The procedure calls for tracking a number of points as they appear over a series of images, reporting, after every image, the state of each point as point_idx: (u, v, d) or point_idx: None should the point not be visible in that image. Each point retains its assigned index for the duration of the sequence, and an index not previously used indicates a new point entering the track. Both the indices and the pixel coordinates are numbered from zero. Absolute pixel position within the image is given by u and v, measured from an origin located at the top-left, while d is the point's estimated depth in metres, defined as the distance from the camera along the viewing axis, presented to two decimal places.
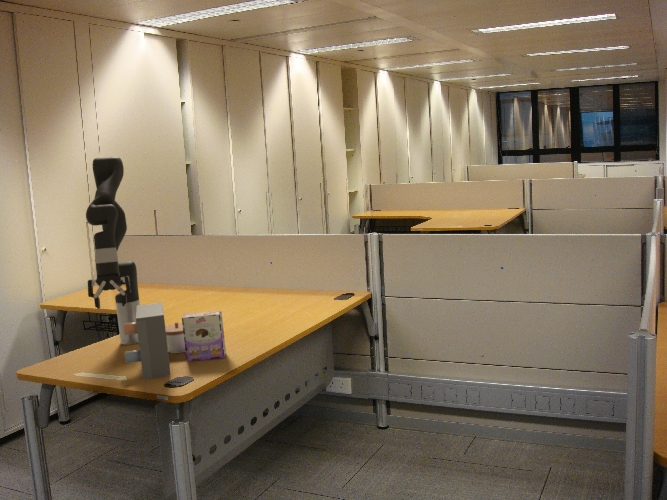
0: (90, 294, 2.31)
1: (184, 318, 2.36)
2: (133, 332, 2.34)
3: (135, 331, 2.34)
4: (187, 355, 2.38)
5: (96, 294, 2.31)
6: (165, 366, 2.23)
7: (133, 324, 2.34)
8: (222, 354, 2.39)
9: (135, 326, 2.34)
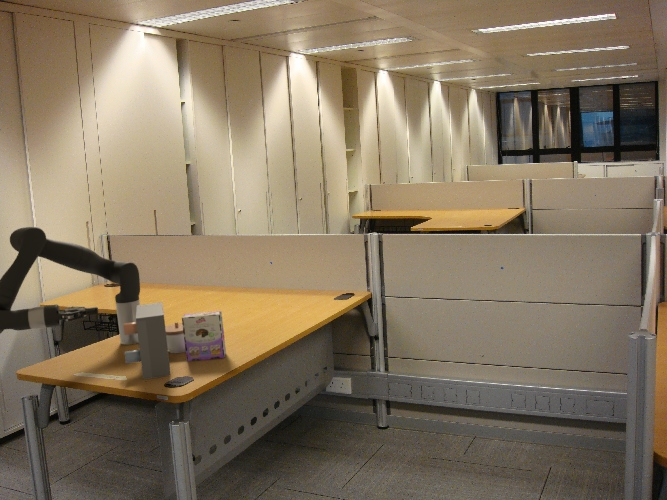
0: None
1: (184, 318, 2.36)
2: (133, 332, 2.34)
3: (135, 331, 2.34)
4: (187, 355, 2.38)
5: None
6: (165, 366, 2.23)
7: (133, 324, 2.34)
8: (222, 354, 2.39)
9: (135, 326, 2.34)
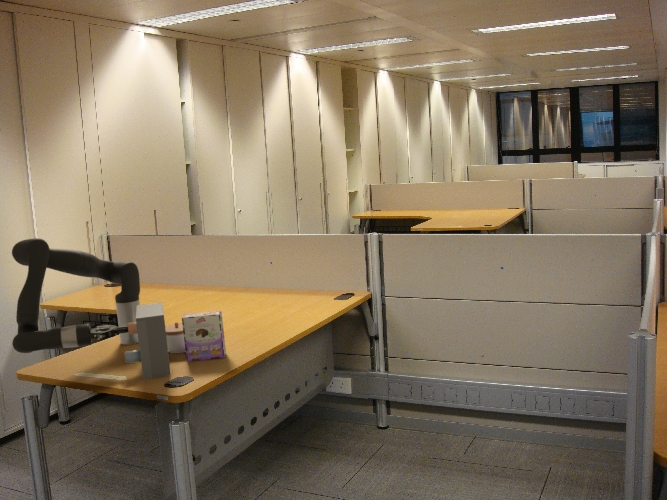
0: None
1: (184, 318, 2.36)
2: None
3: None
4: (187, 355, 2.38)
5: None
6: (165, 366, 2.23)
7: None
8: (222, 354, 2.39)
9: None
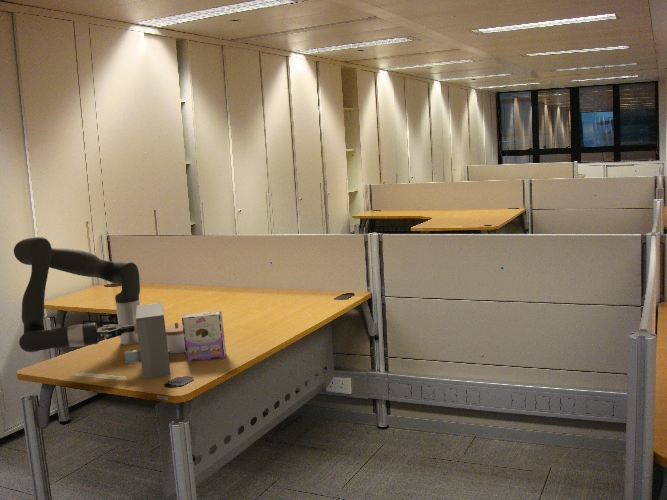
0: None
1: (184, 318, 2.36)
2: None
3: None
4: (187, 355, 2.38)
5: None
6: (165, 366, 2.23)
7: None
8: (222, 354, 2.39)
9: None
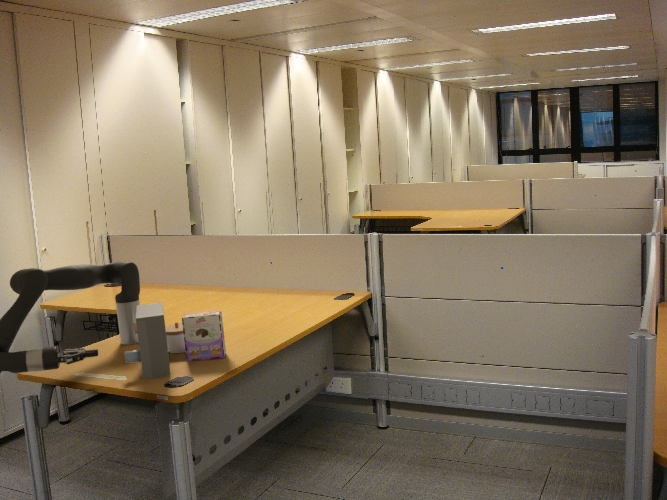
0: None
1: (184, 318, 2.36)
2: None
3: None
4: (187, 355, 2.38)
5: None
6: (165, 366, 2.23)
7: None
8: (222, 354, 2.39)
9: None
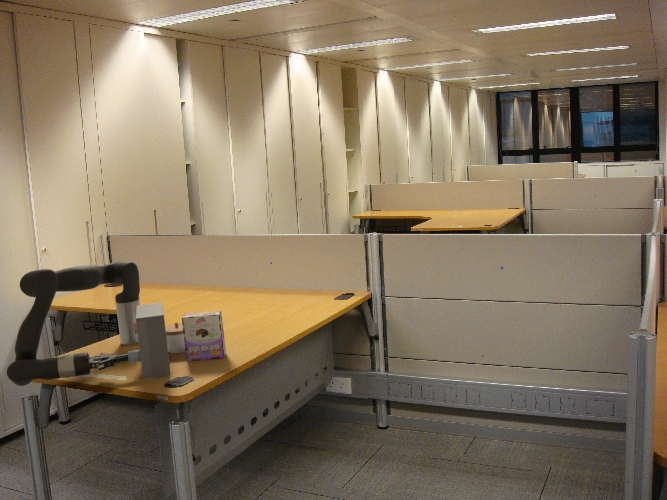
0: None
1: (184, 318, 2.36)
2: None
3: None
4: (187, 355, 2.38)
5: None
6: (165, 366, 2.23)
7: None
8: (222, 354, 2.39)
9: None
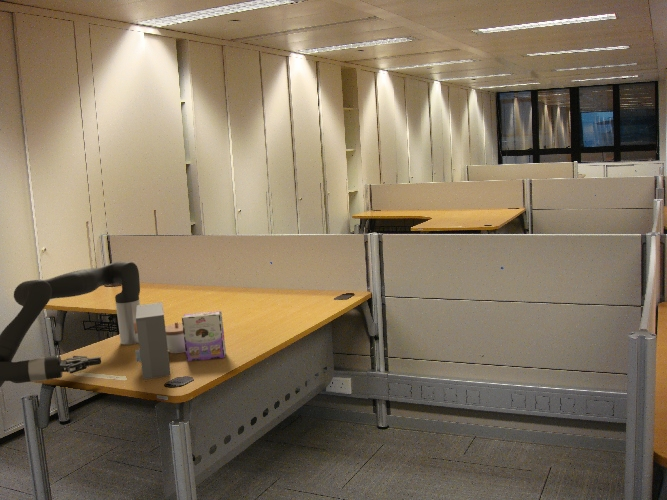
0: None
1: (184, 318, 2.36)
2: None
3: None
4: (187, 355, 2.38)
5: None
6: (165, 366, 2.23)
7: None
8: (222, 354, 2.39)
9: None
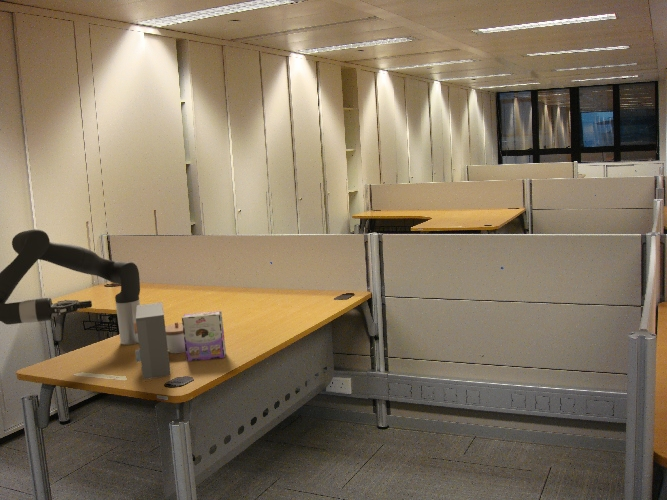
0: None
1: (184, 318, 2.36)
2: None
3: None
4: (187, 355, 2.38)
5: None
6: (165, 366, 2.23)
7: None
8: (222, 354, 2.39)
9: None
